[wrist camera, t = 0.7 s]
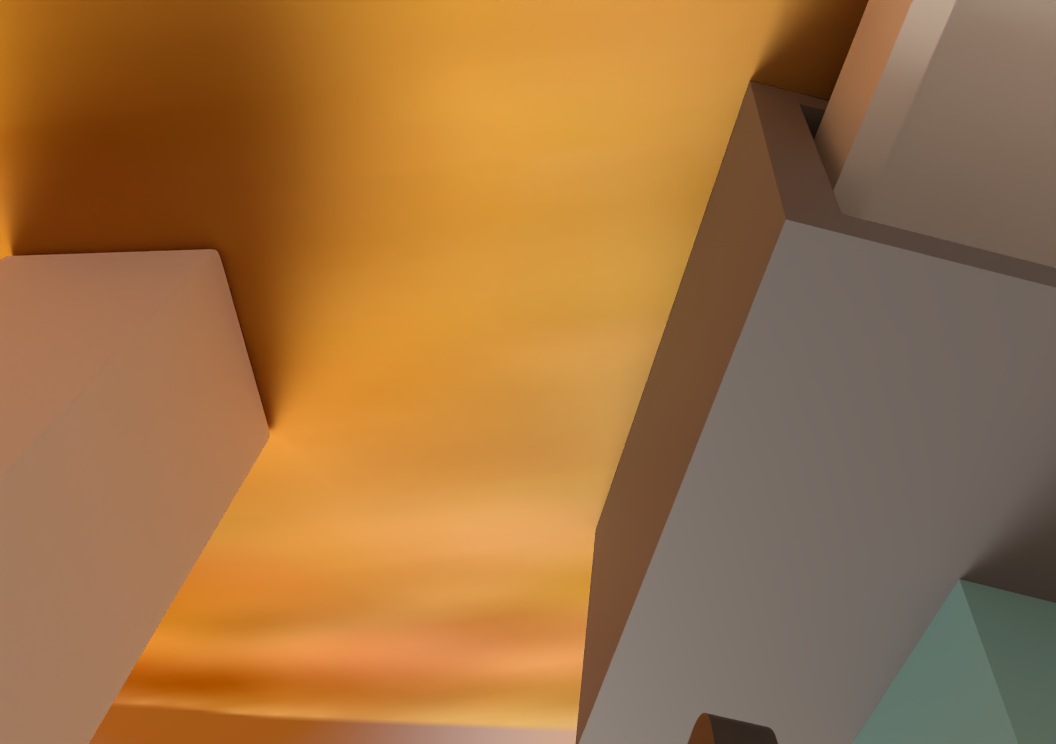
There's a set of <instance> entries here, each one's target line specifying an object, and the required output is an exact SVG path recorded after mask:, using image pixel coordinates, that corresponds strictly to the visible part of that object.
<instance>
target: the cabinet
mask: <svg viewBox="0 0 1056 744" xmlns="http://www.w3.org/2000/svg"><path fill="white" fill-rule="evenodd" d="M828 103H829V101H828V100H824V99H820V98H816V97H812V96H808V95H804V94H800V93H796V92H792V91H788V90H784V89H780V88H776V87H772V86H769V85H765V84H761V83H757V82H753V81H750V82H749V85H748V88H747V91H746V94H745V97H744V99H743V102H742V105H741V108H740V111H739V114H738V117H737V120H736V123H735V126H734V129H733V132H732V134H731V137H730V140H729V143H728V146H727V149H726V152H725V155H724V158H723V161H722V164H721V167H720V170H719V172H718V175H717V178H716V181H715V184H714V187H713V190H712V193H711V196H710V199H709V202H708V205H707V207H706V210H705V213H704V216H703V219H702V222H701V225H700V228H699V231H698V234H697V237H696V240H695V242H694V245H693V248H692V251H691V254H690V257H689V260H688V263H687V266H686V269H685V272H684V275H683V277H682V280H681V283H680V286H679V289H678V292H677V295H676V298H675V301H674V304H673V307H672V310H671V313H670V315H669V318H668V321H667V324H666V327H665V330H664V333H663V336H662V339H661V342H660V345H659V348H658V350H657V353H656V356H655V359H654V362H653V365H652V368H651V371H650V374H649V377H648V380H647V383H646V385H645V388H644V391H643V394H642V397H641V400H640V403H639V406H638V409H637V412H636V415H635V418H634V420H633V423H632V426H631V429H630V432H629V435H628V438H627V441H626V444H625V447H624V450H623V453H622V455H621V458H620V461H619V464H618V467H617V470H616V473H615V476H614V479H613V482H612V485H611V488H610V491H609V493H608V496H607V499H606V502H605V505H604V508H603V511H602V514H601V517H600V520H599V523H598V526H597V528H596V533H595V543H594V554H593V565H592V575H591V586H590V596H589V607H588V618H587V628H586V639H585V650H584V660H583V671H582V682H581V692H580V703H579V714H578V724H577V735H576V744H688V741H689V738H690V735H691V733H692V730H693V727H694V725H695V723H696V721H697V719H698V717H699V716H700V715H701V714H702V713H708V714H713V715H717V716H721V717H726V718H730V719H735V720H739V721H744V722H748V723H753V724H757V725H762V726H766V727H769V728H771V729H772V730H773V731H774V733H775V735H776V739H777V742H778V744H852V743H853V742H854V740H855V739H856V737H857V736H858V734H859V733H860V731H861V729H862V728H863V726H864V725H865V723H866V722H867V720H868V719H869V717H870V716H871V714H872V712H873V711H874V709H875V708H876V706H877V705H878V703H879V702H880V700H881V699H882V697H883V696H884V694H885V692H886V691H887V689H888V688H889V686H890V685H891V683H892V682H893V680H894V679H895V677H896V676H897V674H898V672H899V671H900V669H901V668H902V666H903V665H904V663H905V662H906V660H907V659H908V657H909V656H910V654H911V652H912V651H913V649H914V648H915V646H916V645H917V643H918V642H919V640H920V639H921V637H922V636H923V634H924V632H925V631H926V629H927V628H928V626H929V625H930V623H931V622H932V620H933V619H934V617H935V615H936V614H937V612H938V611H939V609H940V608H941V606H942V605H943V603H944V602H945V600H946V599H947V597H948V595H949V594H950V592H951V591H952V589H953V588H954V586H955V585H956V583H957V582H958V580H959V579H961V580H965V581H969V582H973V583H977V584H981V585H985V586H989V587H993V588H998V589H1002V590H1006V591H1010V592H1014V593H1018V594H1022V595H1026V596H1030V597H1034V598H1038V599H1042V600H1046V601H1050V602H1054V603H1056V268H1054V267H1050V266H1046V265H1042V264H1038V263H1034V262H1030V261H1026V260H1022V259H1018V258H1014V257H1010V256H1007V255H1003V254H999V253H995V252H991V251H987V250H983V249H979V248H975V247H971V246H967V245H963V244H959V243H955V242H951V241H947V240H943V239H939V238H935V237H931V236H927V235H924V234H920V233H916V232H912V231H908V230H904V229H900V228H896V227H892V226H888V225H884V224H880V223H876V222H872V221H868V220H864V219H860V218H856V217H852V216H848V215H844V214H842V212H841V210H840V207H839V205H838V202H837V199H836V197H835V194H834V192H833V189H832V186H831V184H830V181H829V179H828V176H827V174H826V171H825V168H824V166H823V163H822V161H821V158H820V155H819V153H818V150H817V148H816V145H815V143H814V139H815V136H816V133H817V131H818V128H819V126H820V123H821V121H822V118H823V116H824V113H825V111H826V108H827V105H828Z"/></svg>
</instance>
